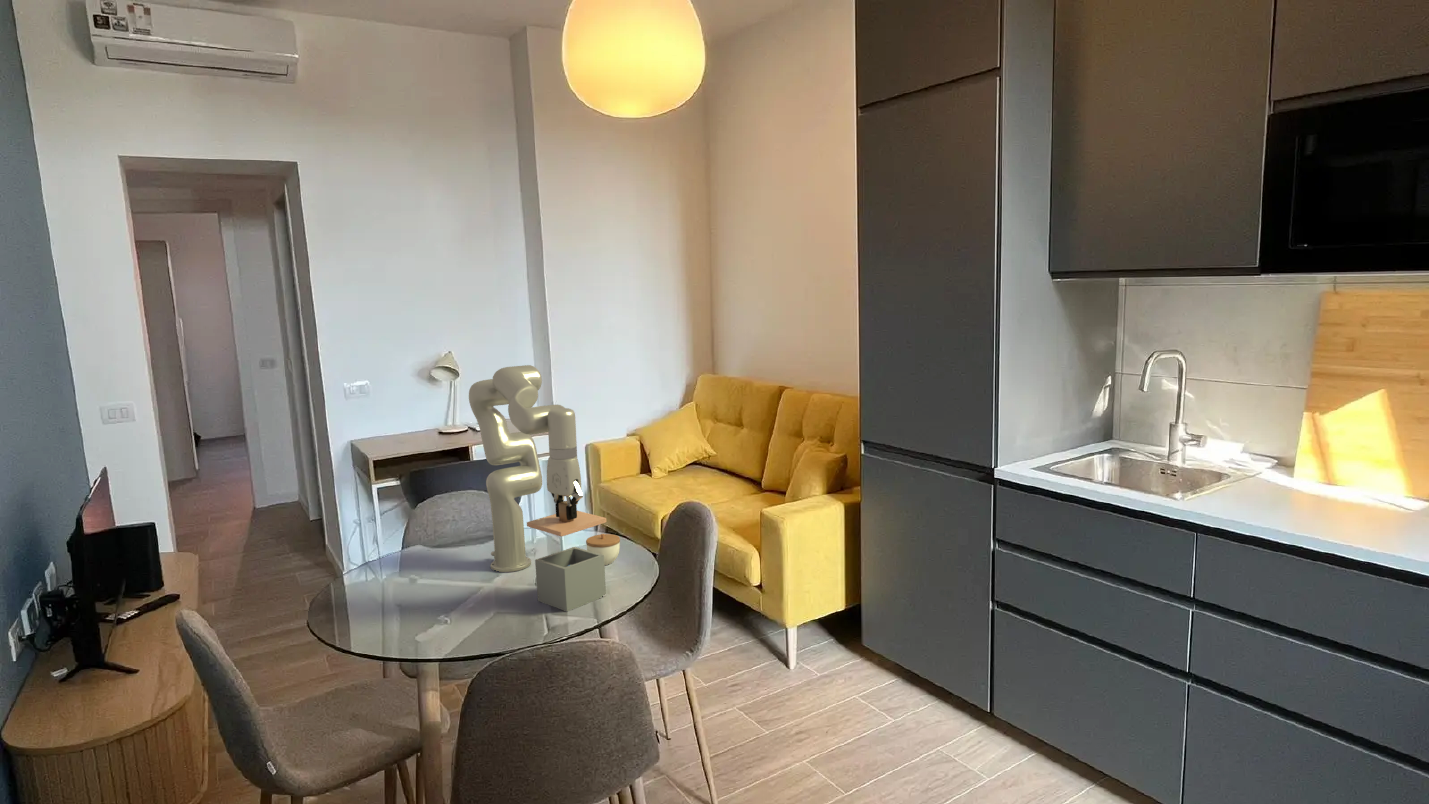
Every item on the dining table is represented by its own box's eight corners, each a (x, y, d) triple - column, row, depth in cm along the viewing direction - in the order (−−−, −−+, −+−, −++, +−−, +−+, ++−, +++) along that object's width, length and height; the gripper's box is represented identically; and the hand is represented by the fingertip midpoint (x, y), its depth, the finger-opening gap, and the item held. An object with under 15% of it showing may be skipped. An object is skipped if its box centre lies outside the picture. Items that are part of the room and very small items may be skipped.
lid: (527, 529, 222) (525, 504, 221) (572, 516, 234) (571, 492, 233) (561, 540, 212) (559, 514, 211) (606, 525, 224) (605, 500, 223)
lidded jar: (627, 559, 257) (626, 531, 255) (606, 570, 248) (604, 541, 246) (602, 555, 262) (600, 527, 261) (580, 564, 253) (578, 536, 252)
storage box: (537, 600, 224) (535, 559, 223) (576, 586, 235) (574, 546, 233) (567, 611, 216) (564, 569, 214) (606, 595, 226) (603, 555, 225)
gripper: (533, 452, 222) (537, 515, 225) (571, 459, 211) (575, 526, 214) (555, 447, 228) (558, 509, 231) (593, 454, 217) (596, 519, 220)
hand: (566, 516), depth 222 cm, fingers closed on lid, 4 cm apart
